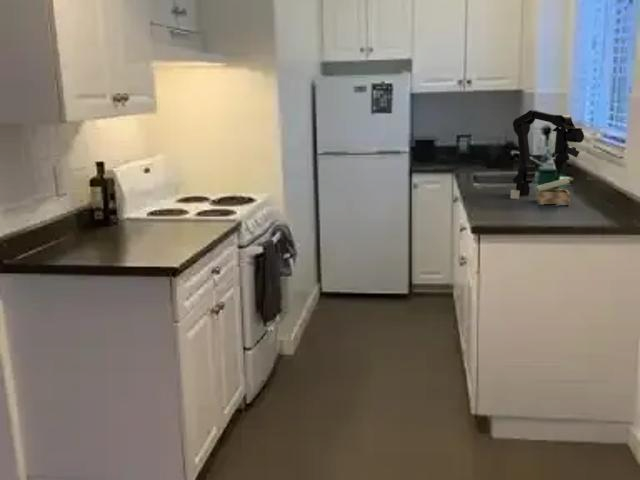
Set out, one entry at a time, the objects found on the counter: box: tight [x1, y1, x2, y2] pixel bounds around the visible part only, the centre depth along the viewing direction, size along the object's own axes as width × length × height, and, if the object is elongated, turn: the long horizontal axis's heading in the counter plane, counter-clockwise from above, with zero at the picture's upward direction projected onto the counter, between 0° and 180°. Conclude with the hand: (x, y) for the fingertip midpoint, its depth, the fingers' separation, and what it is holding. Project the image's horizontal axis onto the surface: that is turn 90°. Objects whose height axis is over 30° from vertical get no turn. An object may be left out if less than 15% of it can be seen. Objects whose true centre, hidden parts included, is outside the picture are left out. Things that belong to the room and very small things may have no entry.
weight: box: [510, 189, 520, 200], centre depth 344 cm, size 4×4×4 cm
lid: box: [536, 177, 571, 191], centre depth 330 cm, size 14×14×1 cm
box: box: [535, 187, 571, 205], centre depth 331 cm, size 14×14×6 cm
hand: (558, 173), depth 338 cm, fingers closed
